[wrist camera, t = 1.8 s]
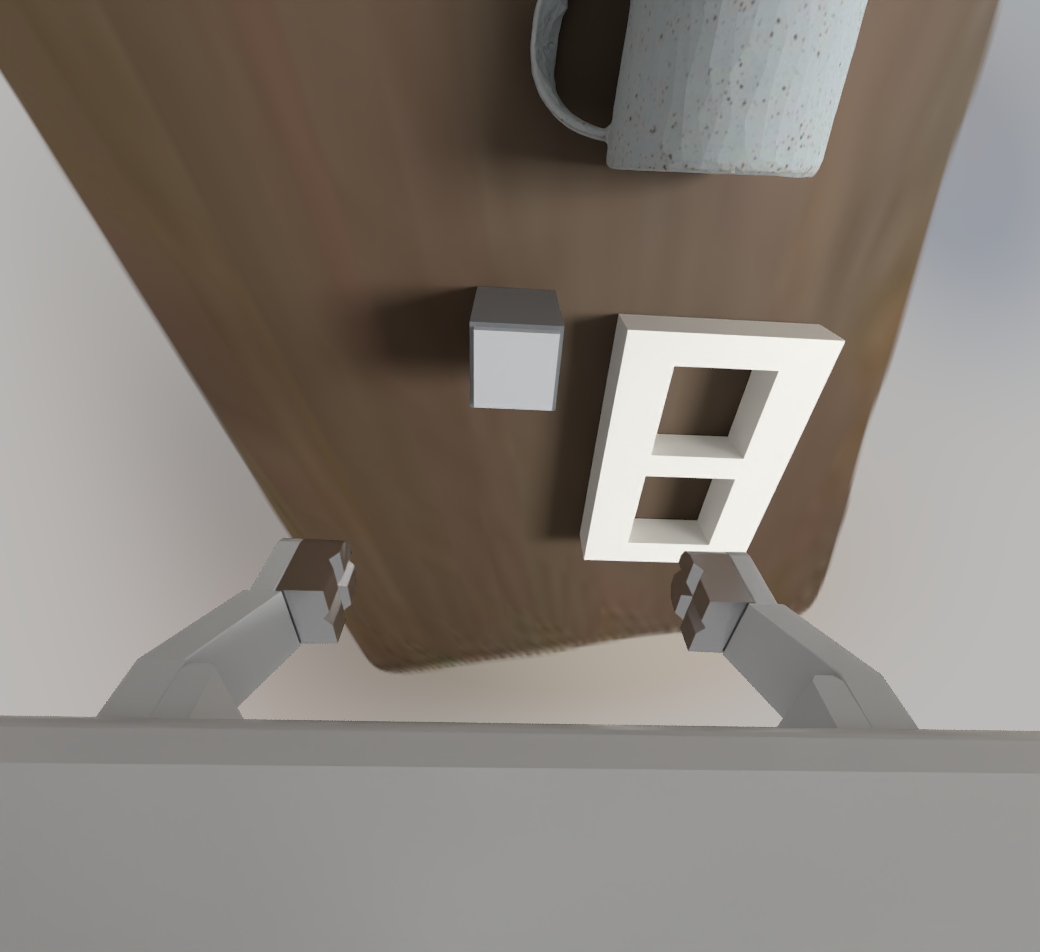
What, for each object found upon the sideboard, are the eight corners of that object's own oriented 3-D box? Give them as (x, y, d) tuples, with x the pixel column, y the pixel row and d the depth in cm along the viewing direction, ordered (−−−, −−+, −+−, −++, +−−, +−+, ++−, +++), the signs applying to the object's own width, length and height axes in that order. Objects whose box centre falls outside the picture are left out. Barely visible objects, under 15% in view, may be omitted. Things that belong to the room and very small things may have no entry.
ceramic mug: (833, -102, 17) (1015, -238, 11) (761, 172, 22) (857, 189, 15) (534, -107, 17) (540, -247, 11) (528, 168, 22) (530, 184, 15)
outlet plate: (618, 313, 25) (627, 329, 23) (819, 324, 26) (845, 340, 24) (579, 534, 35) (583, 559, 33) (727, 539, 35) (740, 564, 33)
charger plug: (477, 286, 24) (468, 324, 20) (554, 290, 25) (565, 329, 20) (477, 360, 27) (469, 410, 22) (547, 363, 27) (555, 414, 22)
